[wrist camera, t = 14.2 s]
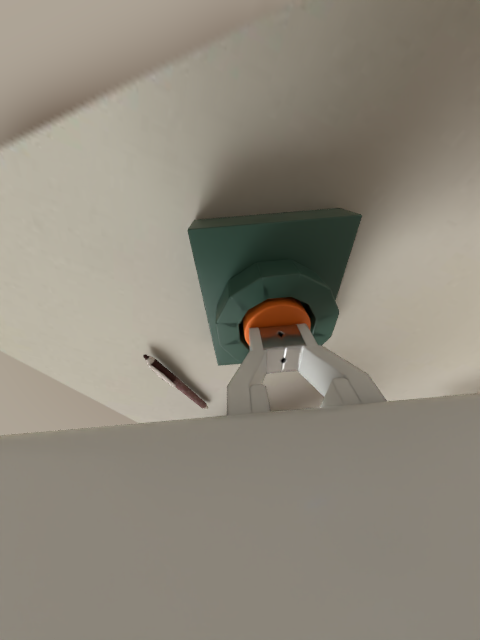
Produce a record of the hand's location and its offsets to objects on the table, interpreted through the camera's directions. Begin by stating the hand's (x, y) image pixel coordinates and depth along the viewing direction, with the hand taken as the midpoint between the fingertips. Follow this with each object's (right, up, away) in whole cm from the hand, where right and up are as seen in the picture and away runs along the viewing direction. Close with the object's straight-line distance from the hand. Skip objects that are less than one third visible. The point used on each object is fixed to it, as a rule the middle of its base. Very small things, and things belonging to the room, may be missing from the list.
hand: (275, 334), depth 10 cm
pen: (-8, -6, +10) cm, 14 cm away
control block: (0, +3, +3) cm, 4 cm away
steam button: (0, +1, +1) cm, 2 cm away
